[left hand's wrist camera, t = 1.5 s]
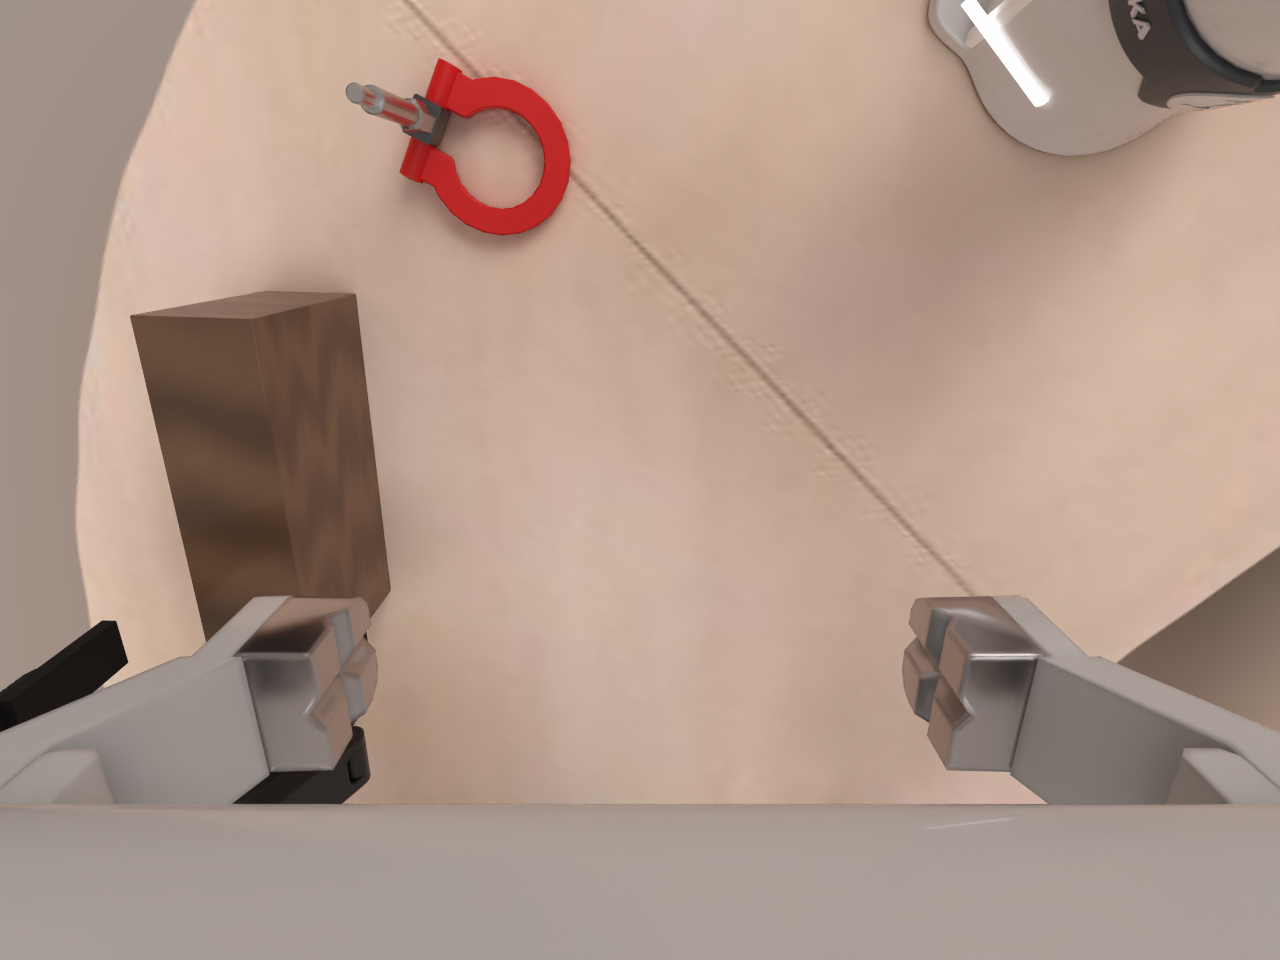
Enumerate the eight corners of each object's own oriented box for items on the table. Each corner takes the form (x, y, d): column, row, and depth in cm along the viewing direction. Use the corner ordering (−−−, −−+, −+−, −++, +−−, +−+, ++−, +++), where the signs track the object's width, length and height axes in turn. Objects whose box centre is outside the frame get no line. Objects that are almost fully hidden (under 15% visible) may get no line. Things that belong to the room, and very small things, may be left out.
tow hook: (594, 125, 41) (446, 43, 39) (581, 95, 29) (368, -26, 27) (537, 258, 43) (397, 186, 42) (504, 280, 32) (306, 181, 30)
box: (264, 291, 44) (129, 315, 33) (355, 293, 44) (252, 319, 33) (313, 587, 52) (217, 691, 41) (390, 590, 52) (316, 694, 41)
